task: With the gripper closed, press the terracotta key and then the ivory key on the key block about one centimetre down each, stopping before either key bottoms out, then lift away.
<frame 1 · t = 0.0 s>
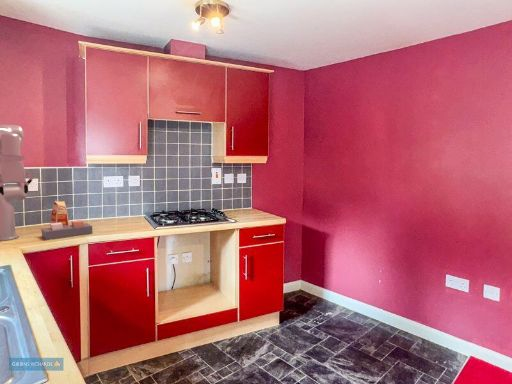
hand: (14, 193, 183), 31 cm above the worktop, tool pointing down, fingers open, 9 cm apart
milk carton: (60, 230, 243), on the worktop
ivory key: (56, 227, 225), point 6 cm above the worktop, slide at 0.0 cm
terracotta key: (77, 225, 232), point 5 cm above the worktop, slide at 0.0 cm
key block: (67, 235, 229), on the worktop
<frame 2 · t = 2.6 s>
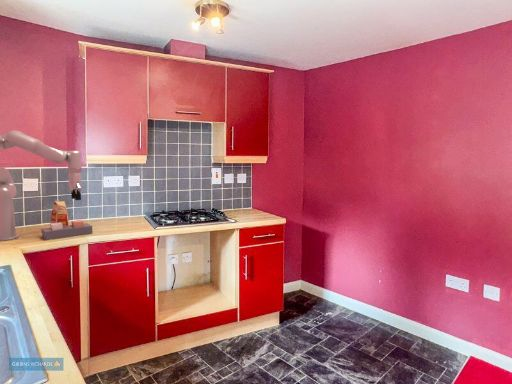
hand: (76, 199, 230), 22 cm above the worktop, tool pointing down, fingers open, 7 cm apart
nothing on the worktop moved.
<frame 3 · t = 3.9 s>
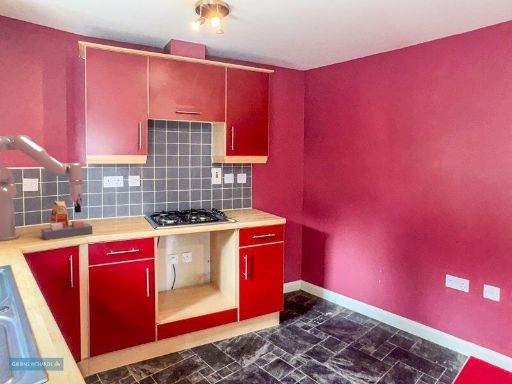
hand: (78, 212, 231), 14 cm above the worktop, tool pointing down, fingers closed
nothing on the worktop moved.
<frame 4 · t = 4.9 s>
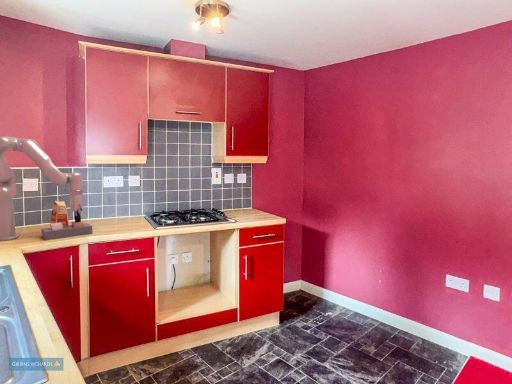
hand: (77, 221, 232), 8 cm above the worktop, tool pointing down, fingers closed
terracotta key: (77, 225, 232), point 5 cm above the worktop, slide at 0.5 cm, touching gripper
everything else where it was.
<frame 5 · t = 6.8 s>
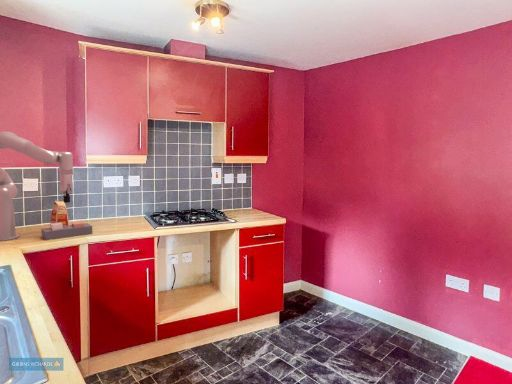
hand: (66, 202, 227), 20 cm above the worktop, tool pointing down, fingers closed
terracotta key: (77, 226, 232), point 4 cm above the worktop, slide at 1.1 cm
everything else where it was.
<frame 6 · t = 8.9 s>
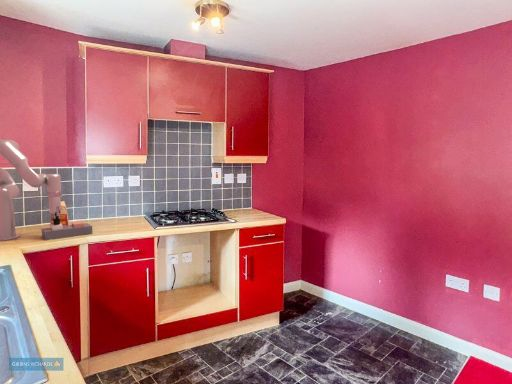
hand: (56, 224, 224), 7 cm above the worktop, tool pointing down, fingers closed
ivory key: (56, 228, 225), point 5 cm above the worktop, slide at 0.7 cm, touching gripper
everything else where it was.
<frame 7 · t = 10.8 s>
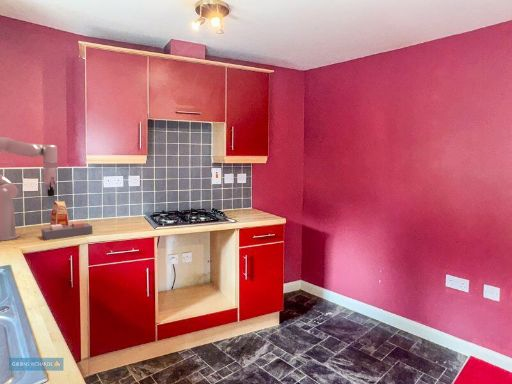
hand: (50, 196, 224), 25 cm above the worktop, tool pointing down, fingers closed
ivory key: (56, 229, 225), point 4 cm above the worktop, slide at 1.0 cm
everything else where it was.
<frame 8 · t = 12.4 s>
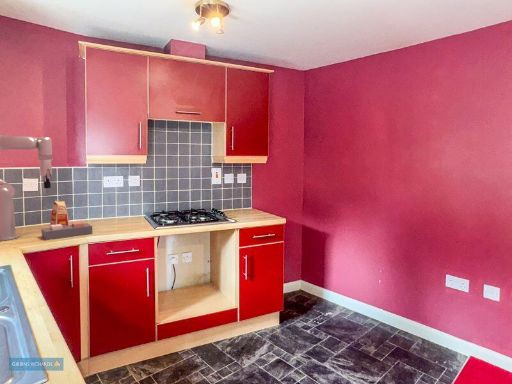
hand: (47, 187, 226), 29 cm above the worktop, tool pointing down, fingers closed
nothing on the worktop moved.
at the end: terracotta key slide at 1.1 cm; ivory key slide at 1.0 cm; milk carton moved 0.2 cm from its start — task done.
